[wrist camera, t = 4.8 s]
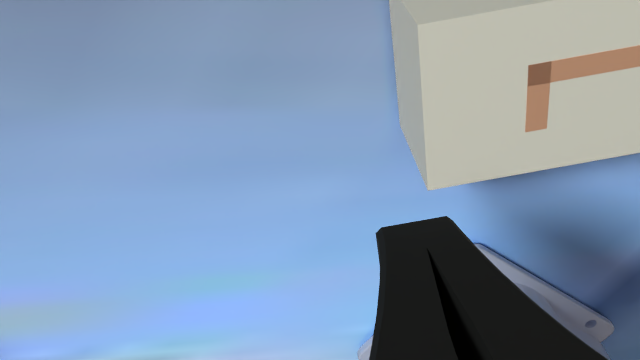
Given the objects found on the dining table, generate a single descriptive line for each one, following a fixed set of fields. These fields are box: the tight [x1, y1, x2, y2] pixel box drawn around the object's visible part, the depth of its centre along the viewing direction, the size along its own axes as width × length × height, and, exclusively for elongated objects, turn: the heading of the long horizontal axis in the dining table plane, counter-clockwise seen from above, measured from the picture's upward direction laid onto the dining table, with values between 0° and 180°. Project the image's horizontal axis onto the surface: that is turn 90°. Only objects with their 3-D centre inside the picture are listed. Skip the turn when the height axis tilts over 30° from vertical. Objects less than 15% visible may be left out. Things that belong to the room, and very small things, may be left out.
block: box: [389, 0, 640, 190], centre depth 17 cm, size 4×5×8 cm
